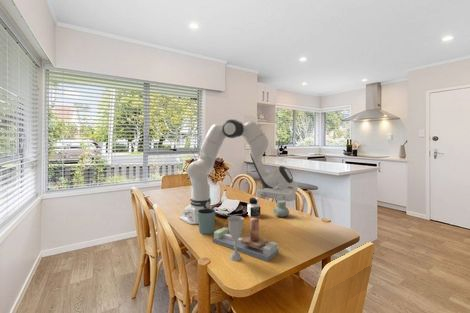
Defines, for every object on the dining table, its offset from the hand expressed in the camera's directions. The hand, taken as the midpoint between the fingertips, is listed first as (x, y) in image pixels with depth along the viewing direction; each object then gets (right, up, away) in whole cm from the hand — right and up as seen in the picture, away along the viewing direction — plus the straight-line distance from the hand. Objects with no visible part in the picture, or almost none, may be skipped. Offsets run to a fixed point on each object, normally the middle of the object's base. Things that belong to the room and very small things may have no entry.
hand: (268, 197), depth 120 cm
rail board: (-12, -23, -5) cm, 27 cm away
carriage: (-8, -20, -9) cm, 23 cm away
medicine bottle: (-4, -20, +41) cm, 46 cm away
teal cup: (-33, -22, +15) cm, 42 cm away
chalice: (-17, -24, -15) cm, 33 cm away
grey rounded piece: (+15, -20, +41) cm, 48 cm away
